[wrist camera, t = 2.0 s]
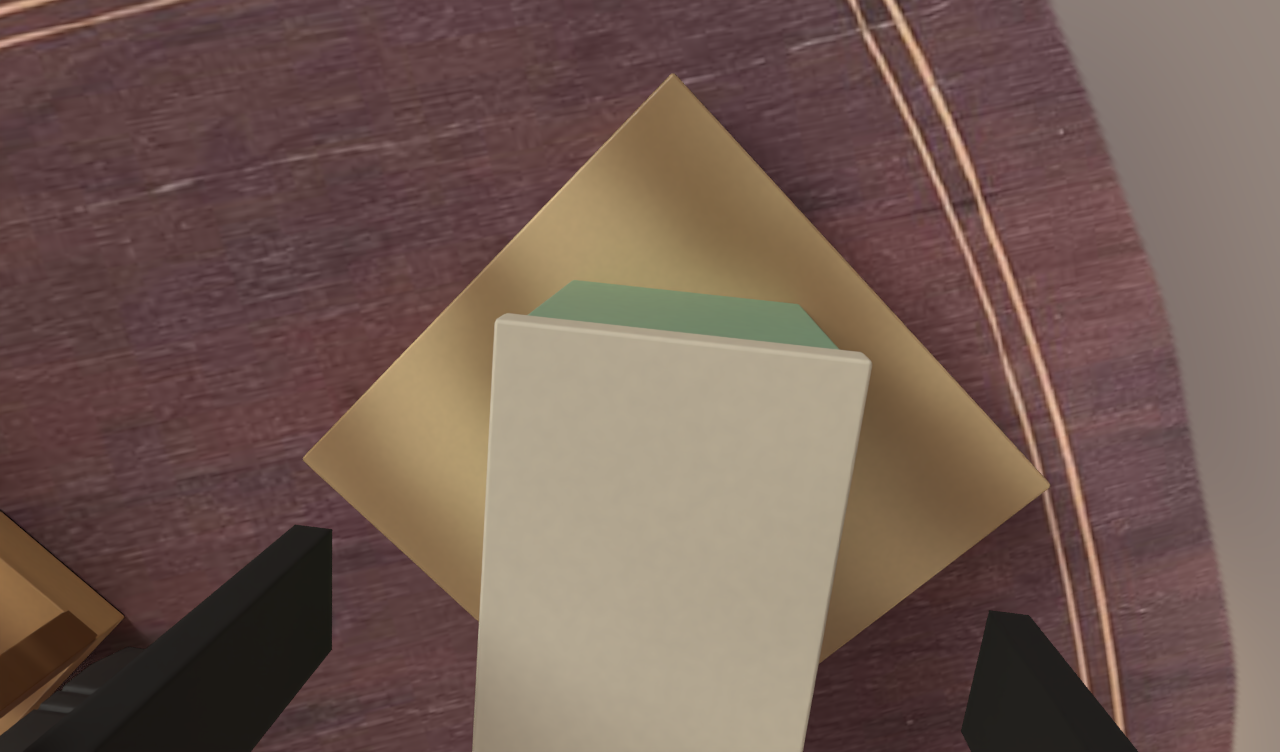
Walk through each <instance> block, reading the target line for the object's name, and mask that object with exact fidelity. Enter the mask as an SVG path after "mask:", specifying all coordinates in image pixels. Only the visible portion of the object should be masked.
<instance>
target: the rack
mask: <svg viewBox="0 0 1280 752" xmlns="http://www.w3.org/2000/svg"><path fill="white" fill-rule="evenodd" d="M123 619H124V616H123V615H122V614H121V613H120V612H119V611H117V610H116V609H115V608H114V607H113V606H112V605H110V604H109V603H108V602H107V601H106V600H105V599H103V598H102V597H101V596H100V595H99V594H97V593H96V592H95V591H94V590H93V589H92V588H90V587H89V586H88V585H87V584H86V583H85V582H83V581H82V580H81V579H80V578H79V577H77V576H76V575H75V574H74V573H73V572H72V571H70V570H69V569H68V568H67V567H66V566H65V565H63V564H62V563H61V562H60V561H59V560H57V559H56V558H55V557H54V556H53V555H52V554H50V553H49V552H48V551H47V550H46V549H45V548H43V547H42V546H41V545H40V544H39V543H37V542H36V541H35V540H34V539H33V538H32V537H30V536H29V535H28V534H27V533H26V532H25V531H23V530H22V529H21V528H20V527H19V526H17V525H16V524H15V523H14V522H13V521H12V520H10V519H9V518H8V517H7V516H6V515H5V514H3V513H2V512H1V511H0V735H2V734H3V733H4V732H5V731H7V730H8V729H9V728H10V727H12V726H13V725H14V724H16V723H17V722H18V721H19V720H21V719H22V718H23V717H25V716H26V715H27V714H28V713H30V712H31V711H32V710H33V709H36V710H37V709H38V708H39V707H40V704H41V703H42V702H44V701H45V700H46V699H48V698H49V697H50V696H51V695H52V693H53V692H54V691H55V690H56V689H57V688H58V687H59V686H60V685H61V684H62V683H63V682H64V681H65V680H66V679H67V678H68V677H69V676H70V675H71V673H72V672H73V671H74V670H75V669H76V668H77V667H78V666H79V665H80V664H81V663H82V662H83V661H84V660H85V659H86V658H87V657H88V656H89V654H90V653H91V652H92V651H93V650H94V649H95V648H96V647H97V646H98V645H99V644H100V643H101V642H102V641H103V640H104V639H105V638H106V637H107V635H108V634H109V633H110V632H111V631H112V630H113V629H114V628H115V627H116V626H117V625H118V624H119V623H120V622H121V621H122V620H123Z"/></svg>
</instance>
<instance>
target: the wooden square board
mask: <svg viewBox="0 0 1280 752" xmlns="http://www.w3.org/2000/svg"><path fill="white" fill-rule="evenodd" d="M573 280H580V281H589V282H598V283H607V284H617V285H626V286H635V287H644V288H654V289H663V290H672V291H681V292H691V293H700V294H709V295H719V296H728V297H737V298H746V299H756V300H765V301H774V302H783V303H793V304H799V305H800V306H801V307H802V308H803V309H804V310H805V311H806V313H807V314H808V315H809V316H810V317H811V318H812V319H813V320H814V322H815V323H816V324H817V325H818V326H819V327H820V328H821V329H822V330H823V332H824V333H825V334H826V335H827V336H828V337H829V338H830V339H831V340H832V342H833V343H834V344H835V345H836V346H837V347H838V348H839V349H840V350H846V351H856V352H861V353H863V354H865V355H866V356H867V357H868V358H869V359H870V360H871V362H872V369H871V375H870V380H869V386H868V392H867V397H866V403H865V408H864V414H863V419H862V425H861V431H860V436H859V442H858V447H857V453H856V458H855V464H854V469H853V475H852V481H851V486H850V492H849V497H848V503H847V508H846V514H845V520H844V525H843V531H842V536H841V542H840V547H839V553H838V559H837V564H836V570H835V575H834V581H833V586H832V592H831V597H830V603H829V609H828V614H827V620H826V625H825V631H824V636H823V642H822V648H821V653H820V659H819V663H821V662H822V661H823V660H825V659H826V658H827V657H829V656H830V655H831V654H832V653H834V652H835V651H836V650H838V649H839V648H840V647H842V646H843V645H844V644H846V643H847V642H848V641H849V640H851V639H852V638H853V637H855V636H856V635H857V634H859V633H860V632H861V631H863V630H864V629H865V628H866V627H868V626H869V625H870V624H872V623H873V622H874V621H876V620H877V619H878V618H880V617H881V616H882V615H883V614H885V613H886V612H887V611H889V610H890V609H891V608H893V607H894V606H895V605H897V604H898V603H899V602H900V601H902V600H903V599H904V598H906V597H907V596H908V595H910V594H911V593H912V592H914V591H915V590H916V589H917V588H919V587H920V586H921V585H923V584H924V583H925V582H927V581H928V580H929V579H931V578H932V577H933V576H934V575H936V574H937V573H938V572H940V571H941V570H942V569H944V568H945V567H946V566H948V565H949V564H950V563H951V562H953V561H954V560H955V559H957V558H958V557H959V556H961V555H962V554H963V553H965V552H966V551H967V550H969V549H970V548H971V547H972V546H974V545H975V544H976V543H978V542H979V541H980V540H982V539H983V538H984V537H986V536H987V535H988V534H989V533H991V532H992V531H993V530H995V529H996V528H997V527H999V526H1000V525H1001V524H1003V523H1004V522H1005V521H1006V520H1008V519H1009V518H1010V517H1012V516H1013V515H1014V514H1016V513H1017V512H1018V511H1020V510H1021V509H1022V508H1023V507H1025V506H1026V505H1027V504H1029V503H1030V502H1031V501H1033V500H1034V499H1035V498H1037V497H1038V496H1039V495H1040V494H1042V493H1043V492H1044V491H1046V490H1047V489H1048V488H1049V487H1050V483H1049V482H1048V481H1047V480H1046V479H1045V478H1044V477H1043V476H1042V475H1041V473H1040V472H1039V471H1038V470H1037V469H1036V468H1035V467H1034V466H1033V465H1032V464H1031V463H1030V461H1029V460H1028V459H1027V458H1026V457H1025V456H1024V455H1023V454H1022V453H1021V452H1020V450H1019V449H1018V448H1017V447H1016V446H1015V445H1014V444H1013V443H1012V442H1011V441H1010V440H1009V438H1008V437H1007V436H1006V435H1005V434H1004V433H1003V432H1002V431H1001V430H1000V429H999V428H998V426H997V425H996V424H995V423H994V422H993V421H992V420H991V419H990V418H989V417H988V416H987V414H986V413H985V412H984V411H983V410H982V409H981V408H980V407H979V406H978V405H977V403H976V402H975V401H974V400H973V399H972V398H971V397H970V396H969V395H968V394H967V393H966V391H965V390H964V389H963V388H962V387H961V386H960V385H959V384H958V383H957V382H956V381H955V379H954V378H953V377H952V376H951V375H950V374H949V373H948V372H947V371H946V370H945V369H944V367H943V366H942V365H941V364H940V363H939V362H938V361H937V360H936V359H935V358H934V356H933V355H932V354H931V353H930V352H929V351H928V350H927V349H926V348H925V347H924V346H923V344H922V343H921V342H920V341H919V340H918V339H917V338H916V337H915V336H914V335H913V334H912V332H911V331H910V330H909V329H908V328H907V327H906V326H905V325H904V324H903V323H902V322H901V320H900V319H899V318H898V317H897V316H896V315H895V314H894V313H893V312H892V311H891V309H890V308H889V307H888V306H887V305H886V304H885V303H884V302H883V301H882V300H881V299H880V297H879V296H878V295H877V294H876V293H875V292H874V291H873V290H872V289H871V288H870V287H869V285H868V284H867V283H866V282H865V281H864V280H863V279H862V278H861V277H860V276H859V275H858V273H857V272H856V271H855V270H854V269H853V268H852V267H851V266H850V265H849V264H848V262H847V261H846V260H845V259H844V258H843V257H842V256H841V255H840V254H839V253H838V252H837V250H836V249H835V248H834V247H833V246H832V245H831V244H830V243H829V242H828V241H827V240H826V238H825V237H824V236H823V235H822V234H821V233H820V232H819V231H818V230H817V229H816V228H815V226H814V225H813V224H812V223H811V222H810V221H809V220H808V219H807V218H806V217H805V215H804V214H803V213H802V212H801V211H800V210H799V209H798V208H797V207H796V206H795V205H794V203H793V202H792V201H791V200H790V199H789V198H788V197H787V196H786V195H785V194H784V193H783V191H782V190H781V189H780V188H779V187H778V186H777V185H776V184H775V183H774V182H773V181H772V179H771V178H770V177H769V176H768V175H767V174H766V173H765V172H764V171H763V170H762V168H761V167H760V166H759V165H758V164H757V163H756V162H755V161H754V160H753V159H752V158H751V156H750V155H749V154H748V153H747V152H746V151H745V150H744V149H743V148H742V147H741V146H740V144H739V143H738V142H737V141H736V140H735V139H734V138H733V137H732V136H731V135H730V134H729V132H728V131H727V130H726V129H725V128H724V127H723V126H722V125H721V124H720V123H719V121H718V120H717V119H716V118H715V117H714V116H713V115H712V114H711V113H710V112H709V111H708V109H707V108H706V107H705V106H704V105H703V104H702V103H701V102H700V101H699V100H698V99H697V97H696V96H695V95H694V94H693V93H692V92H691V91H690V90H689V89H688V88H687V87H686V85H685V84H684V83H683V82H682V81H681V80H680V79H679V78H678V77H677V76H676V75H675V74H671V75H670V76H669V77H668V78H667V79H666V80H665V81H664V82H663V83H662V84H661V85H660V86H659V87H658V88H657V89H656V90H655V91H654V92H653V93H652V94H651V95H650V96H649V98H648V99H647V100H646V101H645V102H644V103H643V104H642V105H641V106H640V107H639V108H638V109H637V110H636V111H635V112H634V113H633V114H632V115H631V116H630V117H629V118H628V119H627V120H626V121H625V123H624V124H623V125H622V126H621V127H620V128H619V129H618V130H617V131H616V132H615V133H614V134H613V135H612V136H611V137H610V138H609V139H608V140H607V141H606V142H605V143H604V144H603V145H602V146H601V148H600V149H599V150H598V151H597V152H596V153H595V154H594V155H593V156H592V157H591V158H590V159H589V160H588V161H587V162H586V163H585V164H584V165H583V166H582V167H581V168H580V169H579V170H578V171H577V173H576V174H575V175H574V176H573V177H572V178H571V179H570V180H569V181H568V182H567V183H566V184H565V185H564V186H563V187H562V188H561V189H560V190H559V191H558V192H557V193H556V194H555V195H554V196H553V198H552V199H551V200H550V201H549V202H548V203H547V204H546V205H545V206H544V207H543V208H542V209H541V210H540V211H539V212H538V213H537V214H536V215H535V216H534V217H533V218H532V219H531V220H530V221H529V223H528V224H527V225H526V226H525V227H524V228H523V229H522V230H521V231H520V232H519V233H518V234H517V235H516V236H515V237H514V238H513V239H512V240H511V241H510V242H509V243H508V244H507V245H506V246H505V248H504V249H503V250H502V251H501V252H500V253H499V254H498V255H497V256H496V257H495V258H494V259H493V260H492V261H491V262H490V263H489V264H488V265H487V266H486V267H485V268H484V269H483V270H482V271H481V273H480V274H479V275H478V276H477V277H476V278H475V279H474V280H473V281H472V282H471V283H470V284H469V285H468V286H467V287H466V288H465V289H464V290H463V291H462V292H461V293H460V294H459V295H458V296H457V298H456V299H455V300H454V301H453V302H452V303H451V304H450V305H449V306H448V307H447V308H446V309H445V310H444V311H443V312H442V313H441V314H440V315H439V316H438V317H437V318H436V319H435V320H434V321H433V323H432V324H431V325H430V326H429V327H428V328H427V329H426V330H425V331H424V332H423V333H422V334H421V335H420V336H419V337H418V338H417V339H416V340H415V341H414V342H413V343H412V344H411V345H410V346H409V348H408V349H407V350H406V351H405V352H404V353H403V354H402V355H401V356H400V357H399V358H398V359H397V360H396V361H395V362H394V363H393V364H392V365H391V366H390V367H389V368H388V369H387V370H386V371H385V373H384V374H383V375H382V376H381V377H380V378H379V379H378V380H377V381H376V382H375V383H374V384H373V385H372V386H371V387H370V388H369V389H368V390H367V391H366V392H365V393H364V394H363V395H362V396H361V398H360V399H359V400H358V401H357V402H356V403H355V404H354V405H353V406H352V407H351V408H350V409H349V410H348V411H347V412H346V413H345V414H344V415H343V416H342V417H341V418H340V419H339V420H338V421H337V423H336V424H335V425H334V426H333V427H332V428H331V429H330V430H329V431H328V432H327V433H326V434H325V435H324V436H323V437H322V438H321V439H320V440H319V441H318V442H317V443H316V444H315V445H314V446H313V448H312V449H311V450H310V451H309V452H308V453H307V454H306V455H305V456H304V457H303V461H304V462H305V463H306V464H307V465H309V466H310V467H311V468H312V469H313V470H314V471H315V472H316V473H317V474H318V475H319V476H321V477H322V478H323V479H324V480H325V481H326V482H327V483H328V484H329V485H330V486H331V487H332V488H334V489H335V490H336V491H337V492H338V493H339V494H340V495H341V496H342V497H343V498H344V499H346V500H347V501H348V502H349V503H350V504H351V505H352V506H353V507H354V508H355V509H356V510H358V511H359V512H360V513H361V514H362V515H363V516H364V517H365V518H366V519H367V520H368V521H370V522H371V523H372V524H373V525H374V526H375V527H376V528H377V529H378V530H379V531H380V532H382V533H383V534H384V535H385V536H386V537H387V538H388V539H389V540H390V541H391V542H392V543H393V544H395V545H396V546H397V547H398V548H399V549H400V550H401V551H402V552H403V553H404V554H405V555H407V556H408V557H409V558H410V559H411V560H412V561H413V562H414V563H415V564H416V565H417V566H419V567H420V568H421V569H422V570H423V571H424V572H425V573H426V574H427V575H428V576H429V577H431V578H432V579H433V580H434V581H435V582H436V583H437V584H438V585H439V586H440V587H441V588H443V589H444V590H445V591H446V592H447V593H448V594H449V595H450V596H451V597H452V598H453V599H454V600H456V601H457V602H458V603H459V604H460V605H461V606H462V607H463V608H464V609H465V610H466V611H468V612H469V613H470V614H471V615H472V616H473V617H474V618H475V619H476V620H477V621H478V622H479V613H480V594H481V575H482V556H483V536H484V517H485V498H486V479H487V460H488V440H489V421H490V402H491V383H492V363H493V344H494V325H495V321H496V319H498V318H499V317H501V316H502V315H504V314H507V313H511V314H520V315H528V314H529V313H531V312H532V311H533V310H535V309H536V308H537V307H539V306H540V305H541V304H542V303H544V302H545V301H546V300H548V299H549V298H550V297H552V296H553V295H554V294H555V293H557V292H558V291H559V290H561V289H562V288H563V287H565V286H566V285H567V284H568V283H570V282H571V281H573Z"/></svg>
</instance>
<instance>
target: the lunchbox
mask: <svg viewBox="0 0 1280 752" xmlns="http://www.w3.org/2000/svg"><path fill="white" fill-rule="evenodd" d="M871 369H872V362H871V360H870V359H869V358H868V357H867V356H866V355H865V354H863V353H861V352H856V351H846V350H840V349H839V348H838V347H837V346H836V345H835V344H834V343H833V342H832V340H831V339H830V338H829V337H828V336H827V335H826V334H825V333H824V332H823V330H822V329H821V328H820V327H819V326H818V325H817V324H816V323H815V322H814V320H813V319H812V318H811V317H810V316H809V315H808V314H807V313H806V311H805V310H804V309H803V308H802V307H801V306H800V305H799V304H793V303H783V302H774V301H765V300H756V299H746V298H737V297H728V296H719V295H709V294H700V293H691V292H681V291H672V290H663V289H654V288H644V287H635V286H626V285H617V284H607V283H598V282H589V281H580V280H573V281H571V282H570V283H568V284H567V285H566V286H565V287H563V288H562V289H561V290H559V291H558V292H557V293H555V294H554V295H553V296H552V297H550V298H549V299H548V300H546V301H545V302H544V303H542V304H541V305H540V306H539V307H537V308H536V309H535V310H533V311H532V312H531V313H529V314H528V315H520V314H511V313H507V314H504V315H502V316H501V317H499V318H498V319H496V321H495V325H494V344H493V363H492V383H491V402H490V421H489V440H488V460H487V479H486V498H485V517H484V536H483V556H482V575H481V594H480V613H479V632H478V652H477V671H476V690H475V709H474V728H473V748H472V752H803V748H804V742H805V737H806V731H807V725H808V720H809V714H810V709H811V703H812V698H813V692H814V686H815V681H816V675H817V670H818V664H819V659H820V653H821V648H822V642H823V636H824V631H825V625H826V620H827V614H828V609H829V603H830V597H831V592H832V586H833V581H834V575H835V570H836V564H837V559H838V553H839V547H840V542H841V536H842V531H843V525H844V520H845V514H846V508H847V503H848V497H849V492H850V486H851V481H852V475H853V469H854V464H855V458H856V453H857V447H858V442H859V436H860V431H861V425H862V419H863V414H864V408H865V403H866V397H867V392H868V386H869V380H870V375H871Z"/></svg>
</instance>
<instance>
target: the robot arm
mask: <svg viewBox="0 0 1280 752" xmlns="http://www.w3.org/2000/svg"><path fill="white" fill-rule="evenodd" d="M331 650H332V529H325V528H317V527H309V526H301V525H294V526H293V527H292V528H291V529H289V530H288V531H287V532H286V533H285V534H283V535H282V536H281V537H280V538H279V539H277V540H276V541H275V542H274V543H273V544H271V545H270V546H269V547H268V548H267V549H265V550H264V551H263V552H262V553H261V554H259V555H258V556H257V557H256V558H255V559H253V560H252V561H251V562H250V563H249V564H247V565H246V566H245V567H244V568H243V569H241V570H240V571H239V572H238V573H237V574H235V575H234V576H233V577H232V578H231V579H229V580H228V581H227V582H226V583H225V584H223V585H222V586H221V587H220V588H219V589H217V590H216V591H215V592H214V593H213V594H211V595H210V596H209V597H208V598H207V599H205V600H204V601H203V602H202V603H201V604H199V605H198V606H197V607H196V608H195V609H193V610H192V611H191V612H190V613H188V614H187V615H186V616H185V617H184V618H182V619H181V620H180V621H179V622H178V623H176V624H175V625H174V626H173V627H172V628H170V629H169V630H168V631H167V632H166V633H164V634H163V635H162V636H161V637H160V638H158V639H157V640H156V641H155V642H154V643H152V644H151V645H150V646H149V647H148V648H146V649H141V648H134V647H126V648H124V649H122V650H120V651H118V652H116V653H114V654H112V655H110V656H108V657H105V658H103V659H101V660H99V661H97V662H95V663H93V664H91V665H90V666H88V667H87V668H86V669H85V670H83V671H82V672H81V673H80V674H78V675H77V676H76V677H74V678H73V679H72V680H71V681H69V682H68V683H67V684H65V685H64V686H63V689H62V691H57V692H55V693H54V694H53V695H51V696H50V697H49V698H48V699H46V700H45V701H44V702H42V703H41V704H40V707H39V709H38V710H36V709H33V710H32V711H31V712H30V713H28V714H27V715H26V716H25V717H23V718H22V719H21V720H19V721H18V722H17V723H16V724H14V725H13V726H12V727H10V728H9V729H8V730H7V731H5V732H4V733H3V734H2V735H0V752H251V751H252V749H253V748H254V747H255V746H256V744H257V743H258V742H259V741H260V739H261V738H262V737H263V736H264V734H265V733H266V732H267V731H268V729H269V728H270V727H271V725H272V724H273V723H274V722H275V720H276V719H277V718H278V717H279V715H280V714H281V713H282V712H283V710H284V709H285V708H286V707H287V705H288V704H289V703H290V701H291V700H292V699H293V698H294V696H295V695H296V694H297V693H298V691H299V690H300V689H301V688H302V686H303V685H304V684H305V683H306V681H307V680H308V679H309V678H310V676H311V675H312V674H313V672H314V671H315V670H316V669H317V667H318V666H319V665H320V664H321V662H322V661H323V660H324V659H325V657H326V656H327V655H328V654H329V652H330V651H331ZM961 732H962V734H963V736H964V738H965V740H966V742H967V744H968V746H969V748H970V750H971V752H1138V751H1137V749H1136V748H1135V747H1134V746H1133V745H1132V743H1131V742H1130V741H1129V740H1128V738H1127V737H1126V736H1125V735H1124V733H1123V732H1122V731H1121V730H1120V728H1119V727H1118V726H1117V725H1116V723H1115V722H1114V721H1113V720H1112V718H1111V717H1110V716H1109V715H1108V713H1107V712H1106V711H1105V710H1104V708H1103V707H1102V706H1101V705H1100V703H1099V702H1098V701H1097V700H1096V698H1095V697H1094V696H1093V695H1092V693H1091V692H1090V691H1089V690H1088V688H1087V687H1086V686H1085V685H1084V683H1083V682H1082V681H1081V680H1080V678H1079V677H1078V676H1077V675H1076V673H1075V672H1074V671H1073V670H1072V668H1071V667H1070V666H1069V665H1068V663H1067V662H1066V661H1065V660H1064V658H1063V657H1062V656H1061V655H1060V653H1059V652H1058V651H1057V650H1056V648H1055V647H1054V646H1053V645H1052V643H1051V642H1050V641H1049V640H1048V638H1047V637H1046V636H1045V635H1044V633H1043V632H1042V631H1041V630H1040V628H1039V627H1038V626H1037V625H1036V623H1035V622H1034V621H1033V620H1032V618H1031V617H1030V616H1029V615H1023V614H1014V613H1006V612H998V611H990V610H989V614H988V618H987V622H986V626H985V631H984V635H983V639H982V644H981V648H980V652H979V656H978V661H977V665H976V669H975V674H974V678H973V682H972V686H971V691H970V695H969V699H968V704H967V708H966V712H965V716H964V721H963V725H962V729H961Z"/></svg>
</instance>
